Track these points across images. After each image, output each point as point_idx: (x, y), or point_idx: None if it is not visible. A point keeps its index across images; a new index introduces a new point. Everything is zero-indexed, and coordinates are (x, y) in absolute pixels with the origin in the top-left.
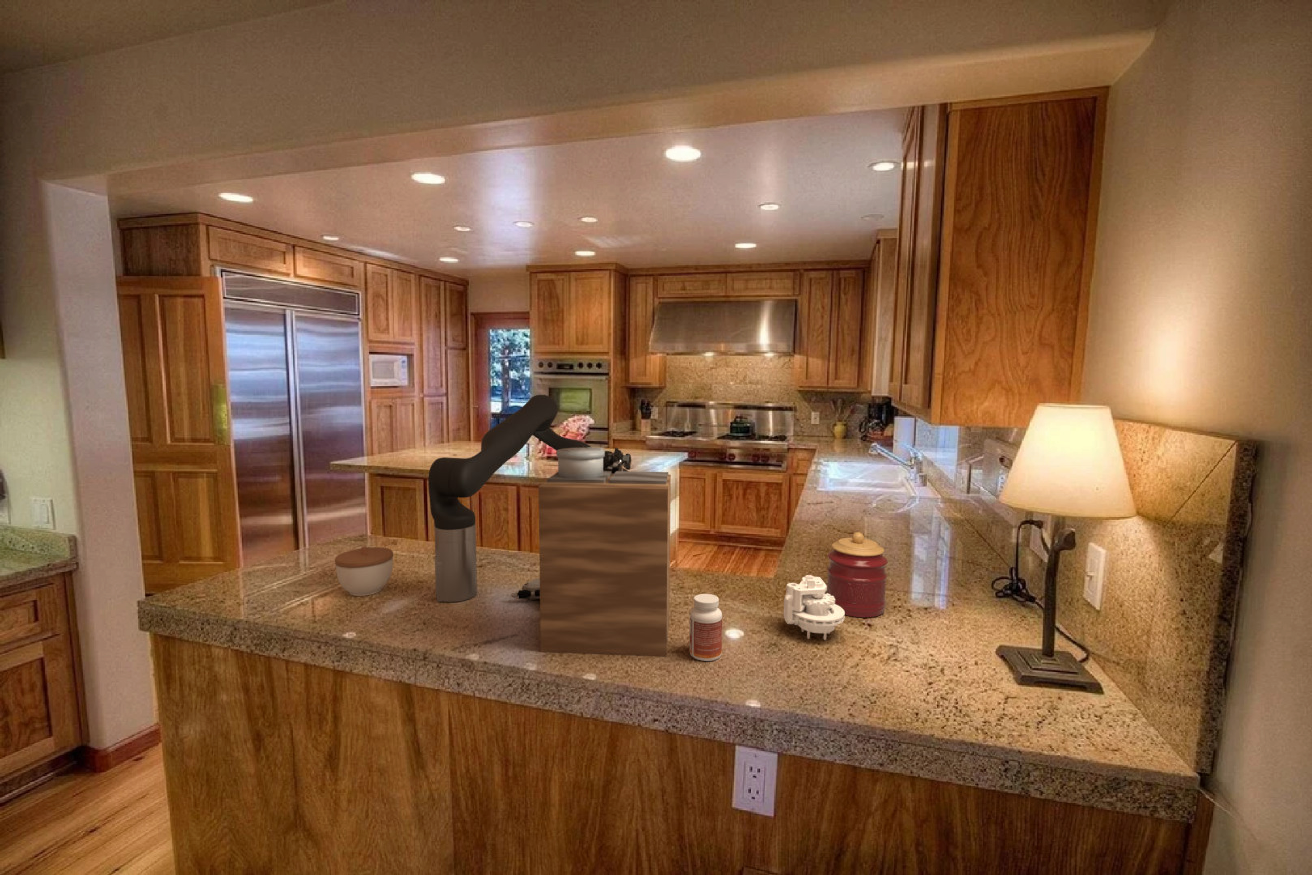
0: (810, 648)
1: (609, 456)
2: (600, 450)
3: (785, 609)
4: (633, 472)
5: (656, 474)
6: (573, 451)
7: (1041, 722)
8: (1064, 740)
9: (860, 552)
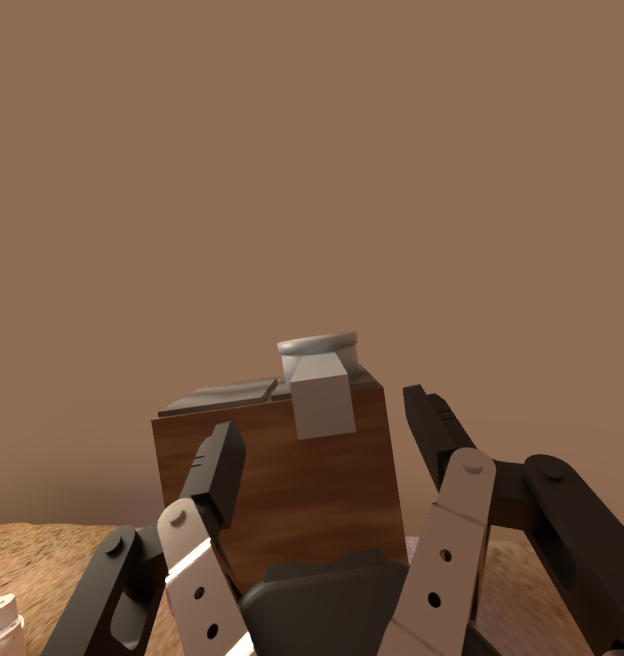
0: (39, 641)
1: (264, 580)
2: (284, 342)
3: (18, 645)
4: (229, 399)
5: (192, 400)
6: (325, 335)
7: (2, 548)
8: (19, 534)
9: None
